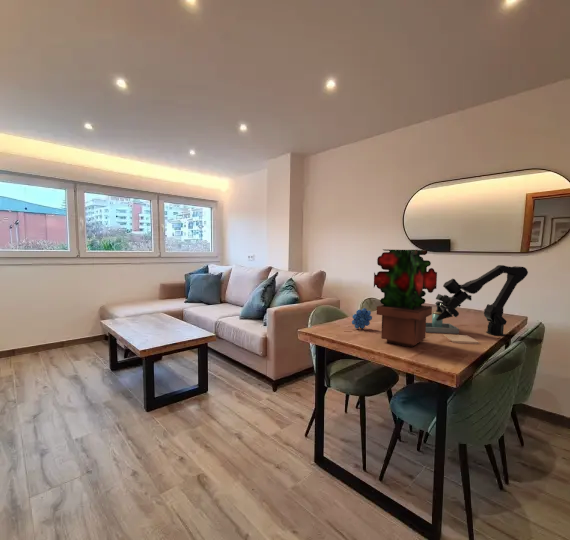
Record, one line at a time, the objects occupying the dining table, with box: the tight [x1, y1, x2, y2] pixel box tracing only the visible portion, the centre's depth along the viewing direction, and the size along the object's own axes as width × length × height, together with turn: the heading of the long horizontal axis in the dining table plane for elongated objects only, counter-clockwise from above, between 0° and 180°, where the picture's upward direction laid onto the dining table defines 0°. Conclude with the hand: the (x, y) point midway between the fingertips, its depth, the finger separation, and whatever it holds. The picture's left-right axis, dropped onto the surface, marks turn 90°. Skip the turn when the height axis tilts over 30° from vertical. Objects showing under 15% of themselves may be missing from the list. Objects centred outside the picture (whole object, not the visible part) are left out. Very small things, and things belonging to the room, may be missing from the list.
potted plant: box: [373, 248, 438, 348], centre depth 144 cm, size 22×22×45 cm
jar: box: [431, 310, 444, 328], centre depth 166 cm, size 5×5×10 cm
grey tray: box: [426, 322, 460, 335], centre depth 166 cm, size 18×12×4 cm, turn 83°
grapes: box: [351, 307, 373, 330], centre depth 170 cm, size 12×7×12 cm, turn 93°
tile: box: [442, 333, 480, 345], centre depth 150 cm, size 12×12×1 cm
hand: (434, 318), depth 166 cm, fingers closed on jar, 5 cm apart
